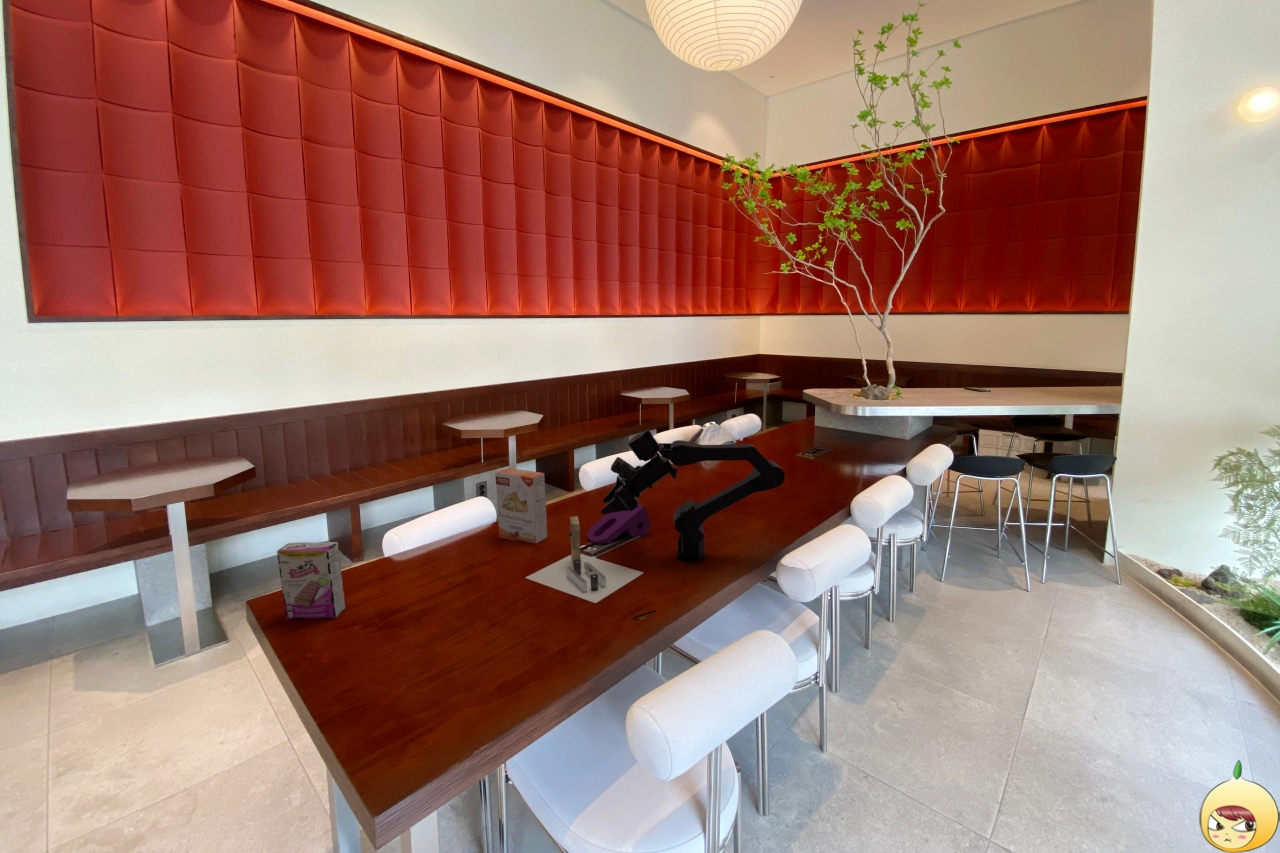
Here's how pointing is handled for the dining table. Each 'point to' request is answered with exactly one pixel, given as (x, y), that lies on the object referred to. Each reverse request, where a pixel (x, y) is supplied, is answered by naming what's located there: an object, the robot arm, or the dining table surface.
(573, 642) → the dining table surface
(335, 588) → the candy bar box
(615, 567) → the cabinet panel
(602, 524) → the mounting bracket
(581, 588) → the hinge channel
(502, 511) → the cracker box
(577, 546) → the wooden block
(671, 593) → the dining table surface
